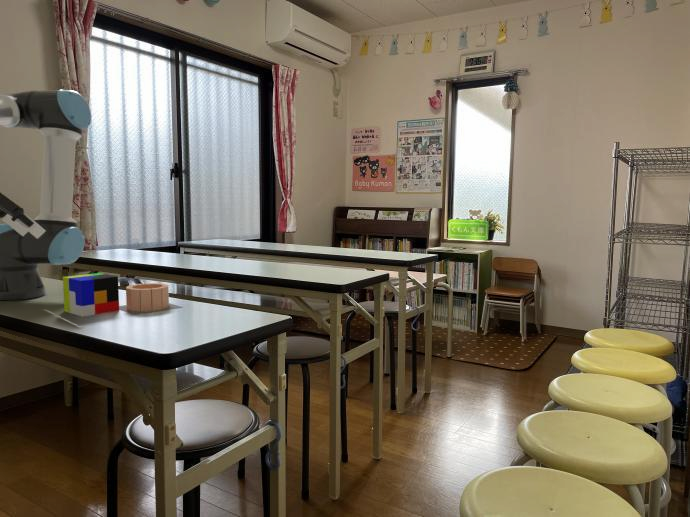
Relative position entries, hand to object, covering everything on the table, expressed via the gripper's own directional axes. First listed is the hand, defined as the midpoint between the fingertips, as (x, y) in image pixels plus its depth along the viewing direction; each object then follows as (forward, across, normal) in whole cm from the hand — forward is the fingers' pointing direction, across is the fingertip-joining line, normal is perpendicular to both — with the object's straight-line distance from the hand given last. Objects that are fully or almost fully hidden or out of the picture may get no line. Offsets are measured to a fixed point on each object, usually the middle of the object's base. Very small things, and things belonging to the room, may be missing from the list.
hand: (33, 233), depth 131 cm
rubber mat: (+33, +11, +3) cm, 35 cm away
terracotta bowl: (+32, +11, +3) cm, 34 cm away
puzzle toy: (+24, +5, -7) cm, 25 cm away
